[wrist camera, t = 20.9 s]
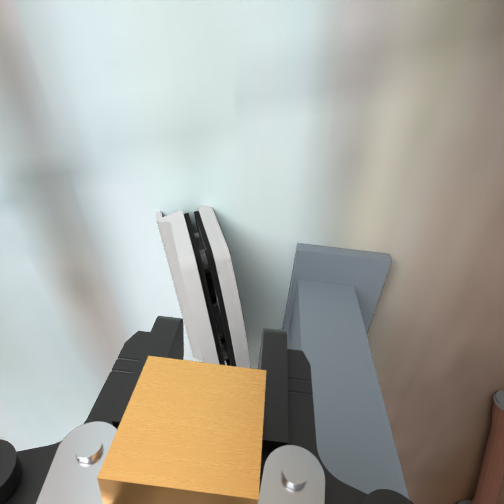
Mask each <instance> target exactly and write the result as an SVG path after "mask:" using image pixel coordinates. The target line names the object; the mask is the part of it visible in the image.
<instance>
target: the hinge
mask: <svg viewBox="0 0 504 504" xmlns="http://www.w3.org/2000/svg"><path fill="white" fill-rule="evenodd" d="M194 215H195V220H196V225H197V229H198V232H197V233H196V234H194V231H193V227H192V224H191V220H190V217H189V213H186V214H183V210H180V211H177V212H174V213H172V214H169V215H167V216H164V217H163V216H162V212H161V211H160V212H156V219H157V224H158V227H159V231H160V235H161V239H162V242H163V246H164V250H165V253H166V257H167V261H168V264H169V268H170V272H171V276H172V279H173V283H174V287H175V290H176V294H177V298H178V302H179V305H180V309H181V313H182V316H183V320H184V324H185V328H186V331H187V335H188V339H189V342H190V346H191V350H192V354H193V357H194V358H197V359H200V360H203V363H211V364H219V365H225V363H224V361H226V362H227V366H235V367H243V368H251V365H250V357H249V351H248V344H247V338H246V332H245V326H244V320H243V315H242V310H241V304H240V299H239V294H238V289H237V284H236V280H235V275H234V270H233V266H232V261H231V256H230V253H229V249H228V247H227V244H226V241H225V239H224V236H223V234H222V231H221V229H220V226H219V224H218V221H217V219H216V216H215V213H214V211H213V208H212V207H209V206H198V211H195V212H194ZM206 272H209V273H211V276H212V280H213V285H214V290H215V295H216V300H217V302H216V303H214V304H212V303H211V298H210V294H209V289H208V285H207V280H206V276H205V273H206ZM219 336H223V338H221V343H220V339H219Z"/></svg>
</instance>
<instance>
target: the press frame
mask: <svg viewBox="0 0 504 504" xmlns="http://www.w3.org/2000/svg"><path fill="white" fill-rule="evenodd" d="M391 262H392V261H391V259H390V256H389V254H385V253H377V252H368V251H360V250H351V249H343V248H334V247H326V246H317V245H309V244H300V243H297V249H296V254H295V260H294V266H293V271H292V277H291V283H290V288H289V294H288V299H287V305H286V311H285V316H284V322H283V328H282V331H287V349H293V350H302V351H303V352H304V354H305V356H306V358H307V359H308V361H309V363H310V365H311V377H312V390H313V403H314V416H315V429H316V442H317V450H318V454H319V457H320V459H321V461H322V463H323V464H324V466H325V467H326V468H327V470H328V471H329V472H330V473H331V474H332V475H333V476H334V477H336V478H337V479H338V480H340V481H342V482H344V483H345V484H347V485H350V486H352V487H354V488H356V489H358V490H360V491H362V492H364V493H366V494H369V493H371V492H372V491H374V490H377V489H390V490H393V491H396V492H398V493H400V494H402V495H403V496H405V497H406V498H408V499H409V497H408V493H407V489H406V485H405V481H404V477H403V473H402V470H401V466H400V462H399V458H398V454H397V450H396V446H395V443H394V439H393V435H392V431H391V427H390V423H389V419H388V415H387V412H386V408H385V404H384V400H383V396H382V392H381V388H380V385H379V381H378V377H377V373H376V369H375V365H374V361H373V357H372V354H371V350H370V346H369V342H368V338H367V332H368V329H369V326H370V324H371V321H372V318H373V315H374V312H375V309H376V306H377V303H378V300H379V297H380V294H381V291H382V288H383V285H384V282H385V279H386V276H387V273H388V270H389V267H390V265H391Z"/></svg>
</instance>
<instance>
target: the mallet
mask: <svg viewBox="0 0 504 504" xmlns="http://www.w3.org/2000/svg"><path fill="white" fill-rule="evenodd" d="M493 400H494V404H493V409H492V425H491V429H490V433H489V438H488V442H487V446H486V450H485V454H484V459H483V463H482V467H481V471H480V476H479V480H478V484H477V488H476V492H475V495H474V497H473V499H472V500H464V501H459V502H458V503H457V504H496V503H497V500H498V496H499V493H500V489H501V486H502V482H503V479H504V390H499V391H498V392H497V393H495V394H494V396H493Z"/></svg>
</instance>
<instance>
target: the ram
mask: <svg viewBox="0 0 504 504" xmlns="http://www.w3.org/2000/svg"><path fill="white" fill-rule="evenodd" d="M265 385H266V370H259V369H251V368H243V367H235V366H227V365H219V364H211V363H203V362H195V361H187V360H179V359H171V358H163V357H155V356H148V358H147V360H146V363H145V365H144V367H143V370H142V372H141V375H140V377H139V379H138V382H137V384H136V386H135V389H134V391H133V394H132V396H131V398H130V401H129V403H128V406H127V408H126V410H125V413H124V415H123V417H122V420H121V422H120V425H119V427H118V429H117V432H116V434H115V436H114V439H113V441H112V444H111V446H110V448H109V451H108V453H107V456H106V458H105V460H104V463H103V465H102V467H101V470H100V472H99V475H98V477H97V480H98V484H99V488H100V493H101V497H102V501H103V504H258V501H259V486H260V469H261V452H262V435H263V419H264V402H265Z"/></svg>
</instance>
